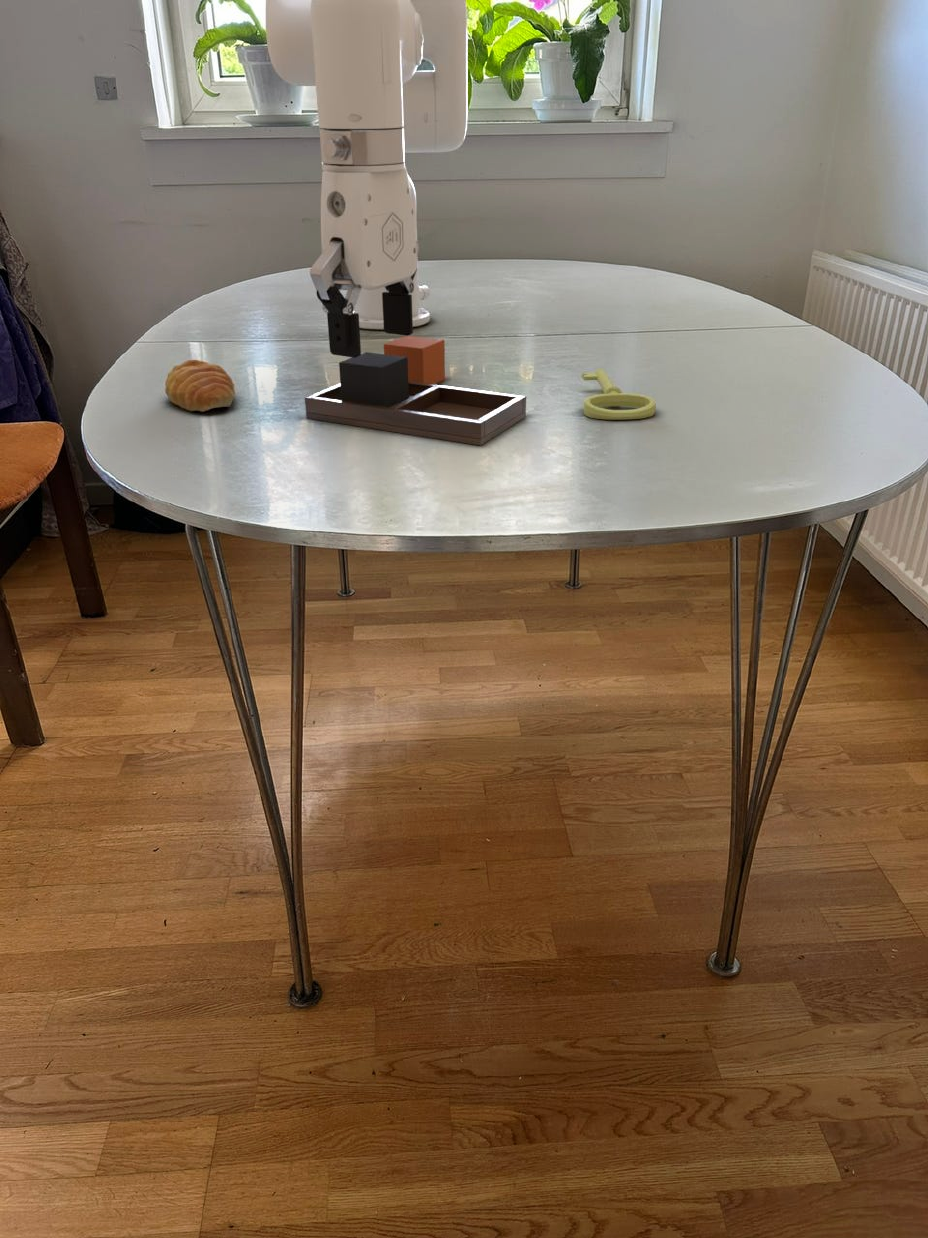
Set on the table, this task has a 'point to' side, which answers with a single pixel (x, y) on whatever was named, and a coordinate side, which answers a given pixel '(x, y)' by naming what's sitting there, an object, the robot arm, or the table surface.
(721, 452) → the table surface
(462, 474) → the table surface
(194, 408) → the pastry
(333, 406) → the brown divided tray
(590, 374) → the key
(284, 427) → the table surface
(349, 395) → the black block
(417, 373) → the orange block
